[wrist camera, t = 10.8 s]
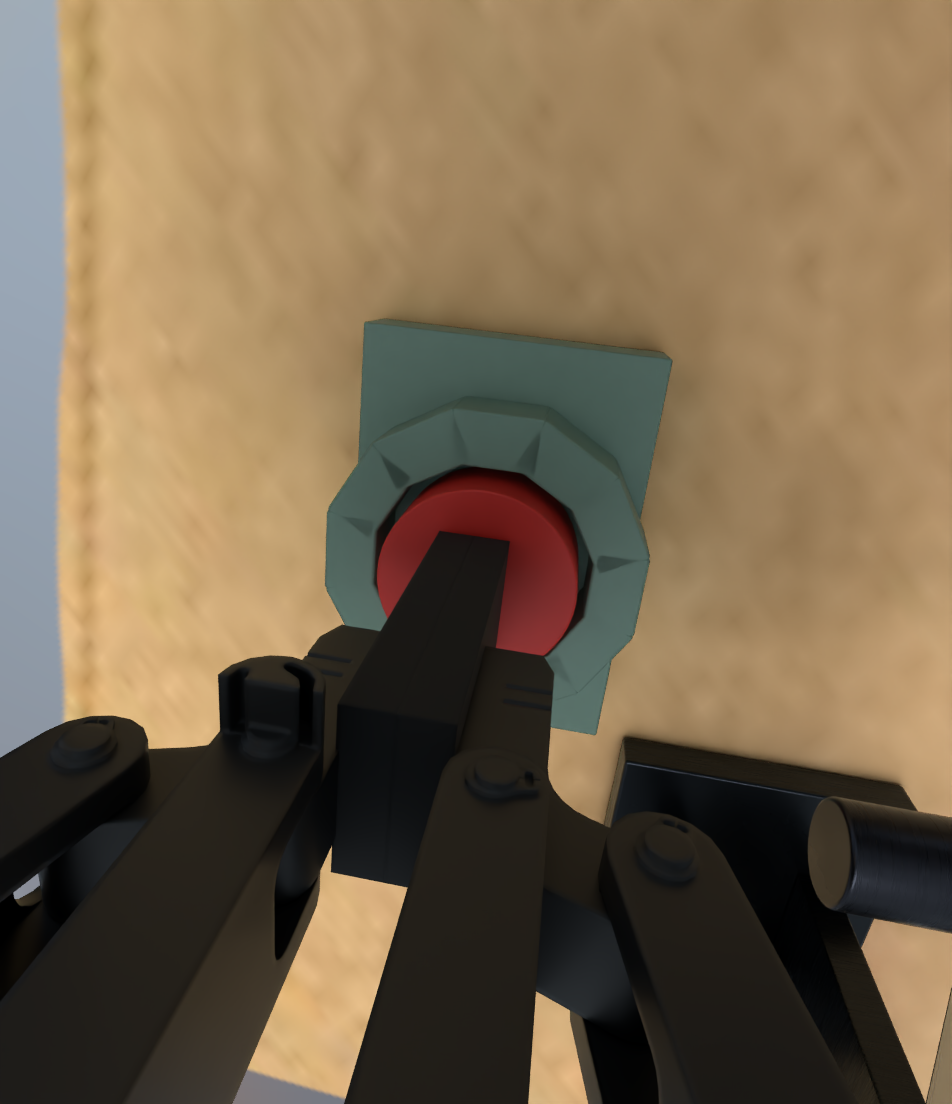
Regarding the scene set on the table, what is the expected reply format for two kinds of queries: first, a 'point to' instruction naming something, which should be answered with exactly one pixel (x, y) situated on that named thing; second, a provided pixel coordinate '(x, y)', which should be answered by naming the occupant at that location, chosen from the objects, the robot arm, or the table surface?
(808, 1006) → the bracket
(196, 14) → the table surface
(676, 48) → the table surface
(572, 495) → the button box
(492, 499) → the button
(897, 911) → the lever
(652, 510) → the table surface
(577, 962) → the robot arm
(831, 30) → the table surface
